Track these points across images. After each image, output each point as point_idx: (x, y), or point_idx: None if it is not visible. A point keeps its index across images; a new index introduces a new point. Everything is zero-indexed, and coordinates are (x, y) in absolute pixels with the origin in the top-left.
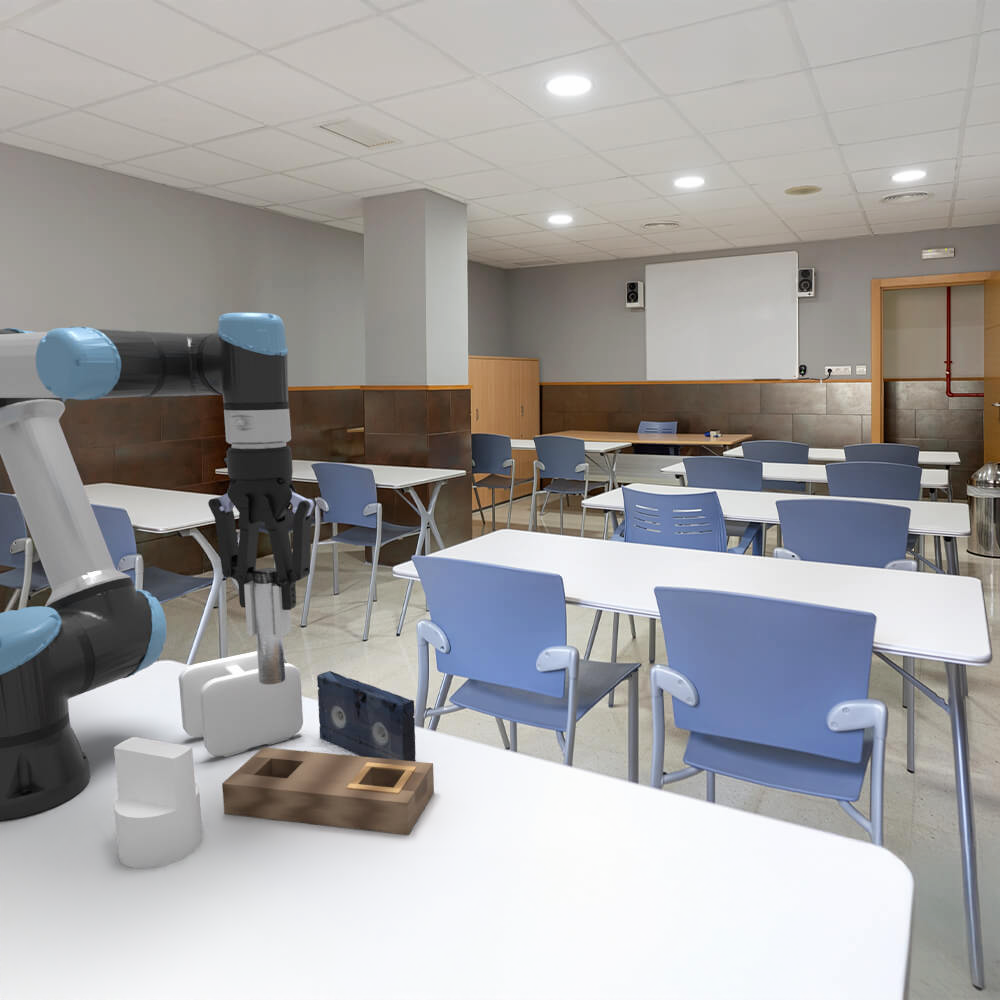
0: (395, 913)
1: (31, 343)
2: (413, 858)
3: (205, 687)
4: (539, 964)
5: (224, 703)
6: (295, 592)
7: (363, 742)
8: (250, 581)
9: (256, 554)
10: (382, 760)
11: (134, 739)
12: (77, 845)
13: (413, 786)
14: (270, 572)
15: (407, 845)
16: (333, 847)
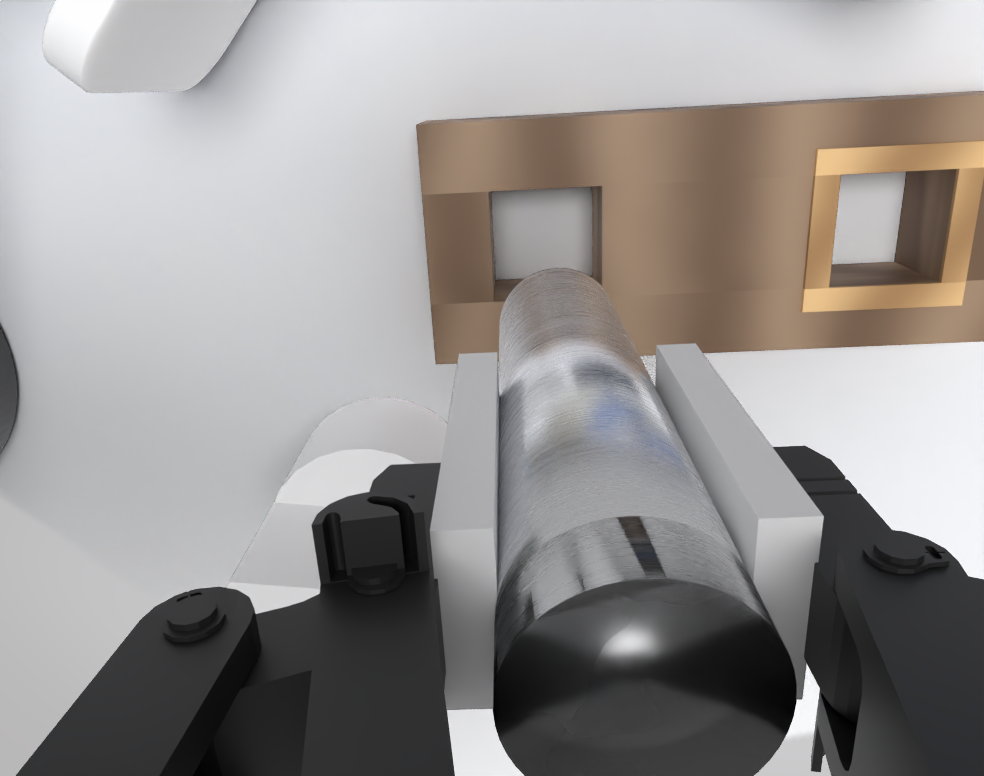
0: (967, 556)
1: None
2: (973, 397)
3: (71, 72)
4: None
5: (162, 28)
6: (870, 511)
7: None
8: (442, 622)
9: (451, 761)
10: (861, 116)
11: (245, 594)
12: (213, 516)
13: None
14: (725, 744)
15: (949, 354)
16: (775, 400)
